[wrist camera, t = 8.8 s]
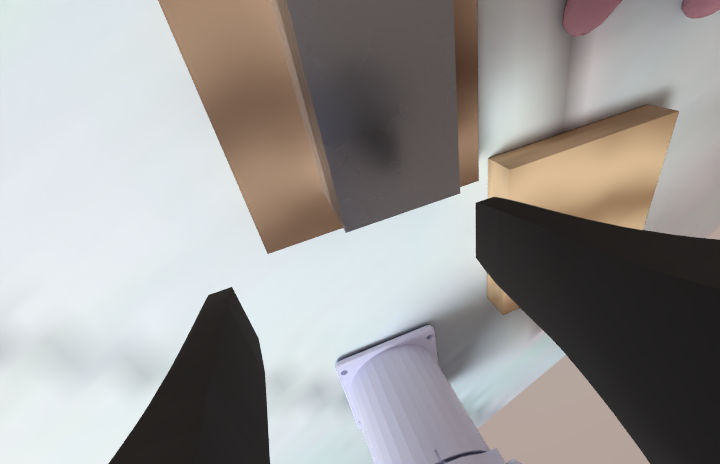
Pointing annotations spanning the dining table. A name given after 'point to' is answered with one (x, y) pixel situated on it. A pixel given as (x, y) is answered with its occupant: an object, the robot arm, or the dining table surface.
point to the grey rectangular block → (375, 101)
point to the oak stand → (587, 173)
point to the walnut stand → (285, 110)
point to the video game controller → (595, 3)
